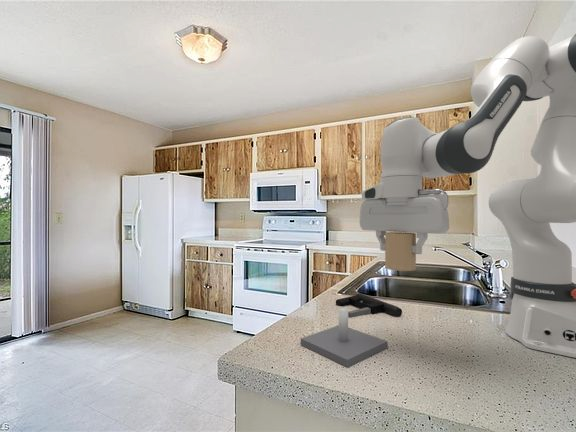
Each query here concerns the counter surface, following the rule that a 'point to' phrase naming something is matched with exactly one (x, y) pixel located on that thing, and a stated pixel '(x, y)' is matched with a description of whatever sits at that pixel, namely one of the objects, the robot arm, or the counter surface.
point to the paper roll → (400, 251)
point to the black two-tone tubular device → (368, 306)
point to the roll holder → (344, 342)
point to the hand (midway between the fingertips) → (400, 252)
